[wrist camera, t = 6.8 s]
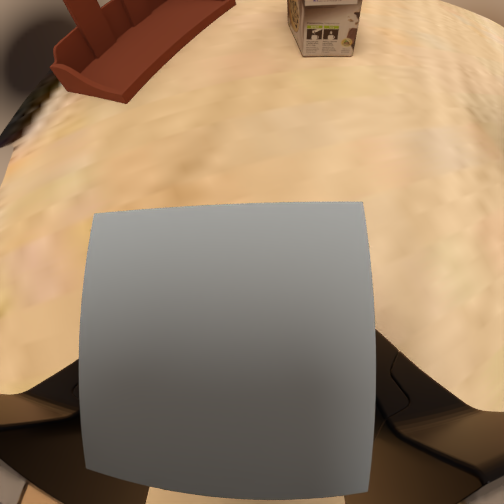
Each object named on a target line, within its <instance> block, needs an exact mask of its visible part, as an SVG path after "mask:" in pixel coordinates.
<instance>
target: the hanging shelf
mask: <svg viewBox="0 0 504 504" xmlns="http://www.w3.org/2000/svg"><path fill="white" fill-rule="evenodd" d="M63 1H64V3H65V5H66V7H67V9H68V10H69V12H70V14H71V16H72V18H73V20H74V22H75V23H76V25H77V27H76V28H74V29H73V30H72V31H71V32H70V33H69V34H67V36H65V37H64V38H63V39H62V40H61V41H60V42H59V43H58V44H56V45H55V47H54V50H53V53H54V58H55V61H54V63H53V64H52V65H51V66H50V68H51V70H52V71H53V73H54V74H55V75H56V77H57V78H58V79H59V81H60V82H61V84H62V85H63V86H64V88H65V89H66V90H67V91H68V92H74V93H79V94H84V95H89V96H94V97H98V98H103V99H108V100H112V101H116V102H120V103H125V104H127V103H128V102H129V101H130V100H131V99H132V98H133V96H134V95H135V94H136V93H137V92H138V91H139V90H140V89H141V88H142V87H143V86H144V85H145V84H146V83H147V82H148V80H149V79H150V78H151V77H152V76H153V75H154V74H155V73H156V72H157V71H158V70H159V69H160V68H161V67H162V66H163V65H164V64H166V63H167V62H168V61H169V60H170V59H171V58H172V57H173V56H174V55H175V54H176V53H177V52H178V51H179V50H181V49H182V48H183V47H184V46H185V45H186V44H187V43H188V42H190V41H191V40H192V39H193V38H194V37H195V36H196V35H198V34H199V33H200V32H201V31H202V30H204V29H205V28H206V27H207V26H209V25H210V24H211V23H212V22H214V21H215V20H216V19H217V18H219V17H220V16H221V15H223V14H224V13H225V12H226V11H228V10H229V9H231V8H232V7H233V6H235V5H236V2H235V0H111V1H109V2H108V3H106V4H105V5H104V6H102V7H101V8H100V6H99V4H98V2H97V0H63Z"/></svg>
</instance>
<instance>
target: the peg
mask: <svg viewBox="0 0 504 504" xmlns="http://www.w3.org/2000/svg"><path fill="white" fill-rule="evenodd" d="M375 399H376V338H375V314H374V297H373V284H372V272H371V262H370V252H369V243H368V235H367V227H366V220H365V213H364V206H363V202H280V203H247V204H222V205H202V206H185V207H169V208H155V209H142V210H129V211H118V212H107V213H96V214H94V217H93V223H92V228H91V234H90V240H89V246H88V252H87V259H86V266H85V274H84V283H83V293H82V304H81V317H80V335H79V400H80V417H81V430H82V440H83V449H84V457H85V465H86V468H87V469H90V470H93V471H96V472H99V473H102V474H105V475H108V476H112V477H115V478H118V479H122V480H126V481H129V482H133V483H137V484H141V485H146V486H150V487H155V488H160V489H165V490H170V491H176V492H182V493H188V494H195V495H203V496H211V497H221V498H234V499H253V500H292V499H312V498H324V497H334V496H343V495H350V494H357V493H364V492H368V486H369V479H370V470H371V461H372V450H373V437H374V422H375Z"/></svg>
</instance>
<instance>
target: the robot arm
mask: <svg viewBox="0 0 504 504" xmlns="http://www.w3.org/2000/svg"><path fill="white" fill-rule="evenodd" d="M375 338H376V399H375V422H374V437H373V450H372V461H371V470H370V479H369V486H368V492H364V493H357V494H350V495H344V498H345V504H504V412H491V411H482V410H478V409H475V408H473V407H471V406H469V405H467V404H466V403H464V402H463V401H461V400H460V399H459V398H457V397H456V396H455V395H453V394H452V393H451V392H449V391H448V390H447V389H445V388H444V387H443V386H441V385H440V384H439V383H437V382H436V381H435V380H433V379H432V378H431V377H430V376H428V375H427V374H426V373H424V372H423V371H422V370H421V369H419V368H418V367H417V366H416V365H415V364H414V363H413V362H411V361H410V360H409V359H408V358H407V357H406V356H405V355H404V354H403V353H402V352H400V351H399V350H398V349H397V348H396V347H395V346H394V345H393V344H392V343H391V342H389V341H388V340H387V339H386V338H385V337H384V336H383V335H382V334H381V333H380V332H378V331H377V330H376V329H375ZM398 351H399V352H398ZM149 487H150V486H146V485H141V484H137V483H133V482H129V481H126V480H122V479H118V478H115V477H112V476H108V475H105V474H102V473H99V472H96V471H93V470H90V469H87V468H86V465H85V457H84V449H83V440H82V430H81V417H80V400H79V359H77V360H76V361H75V362H73V363H72V364H70V365H69V366H67V367H65V368H64V369H62V370H61V371H59V372H57V373H56V374H54V375H53V376H51V377H49V378H48V379H46V380H44V381H43V382H41V383H40V384H38V385H36V386H35V387H33V388H31V389H29V390H28V391H25V392H23V393H19V394H13V395H5V394H0V504H146V499H147V495H148V491H149Z"/></svg>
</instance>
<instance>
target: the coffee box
mask: <svg viewBox="0 0 504 504" xmlns="http://www.w3.org/2000/svg"><path fill="white" fill-rule="evenodd" d="M361 4H362V0H287V5H288V24H289V27H290V29H291V31H292V33H293V35H294V37H295V39H296V42H297V44H298V46H299V48H300V51H301V53H302V55H303V56H352V55H353V50H354V45H355V40H356V34H357V28H358V23H359V17H360V11H361Z"/></svg>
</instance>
